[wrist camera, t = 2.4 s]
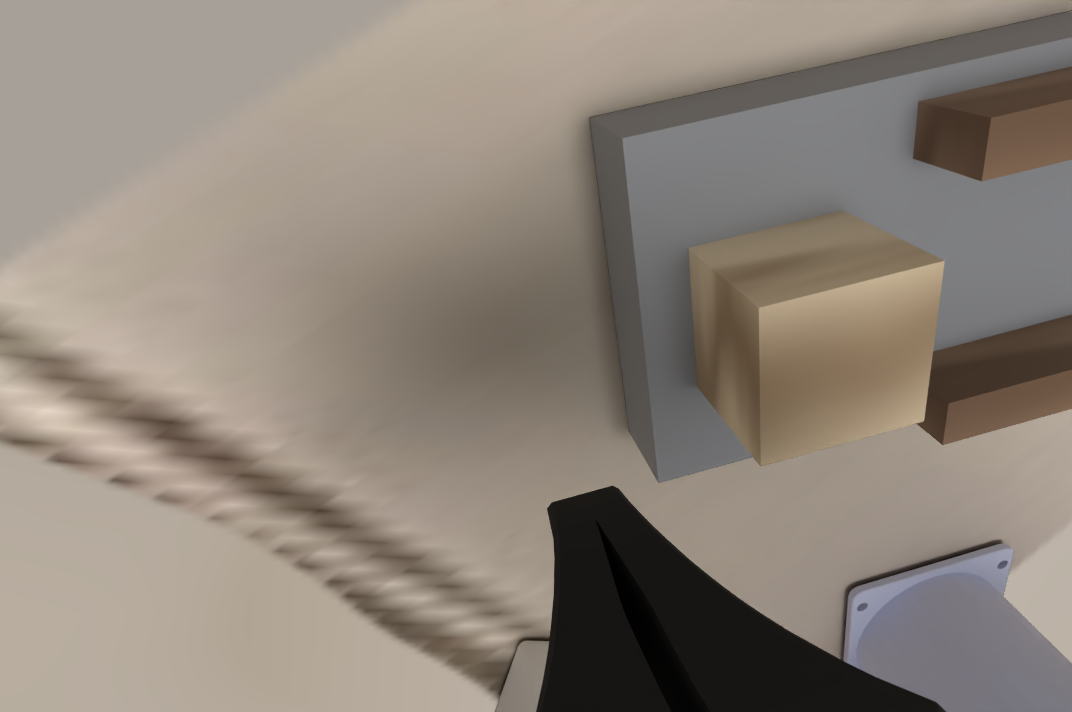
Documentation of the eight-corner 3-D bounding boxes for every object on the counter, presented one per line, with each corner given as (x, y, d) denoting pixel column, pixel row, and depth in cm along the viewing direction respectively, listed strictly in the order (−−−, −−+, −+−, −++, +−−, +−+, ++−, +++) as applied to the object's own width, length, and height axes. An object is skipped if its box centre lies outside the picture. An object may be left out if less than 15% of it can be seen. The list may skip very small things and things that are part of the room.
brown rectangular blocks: (1080, 349, 24) (1150, 386, 22) (889, 401, 23) (942, 444, 21) (1155, 47, 19) (1255, 55, 17) (918, 101, 18) (990, 117, 16)
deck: (1314, 248, 28) (1410, 275, 26) (628, 431, 25) (658, 482, 23) (1444, -72, 23) (1582, -78, 20) (589, 117, 20) (622, 138, 17)
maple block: (836, 350, 22) (924, 421, 18) (697, 387, 21) (760, 466, 18) (842, 210, 20) (945, 260, 16) (688, 247, 19) (759, 307, 16)
